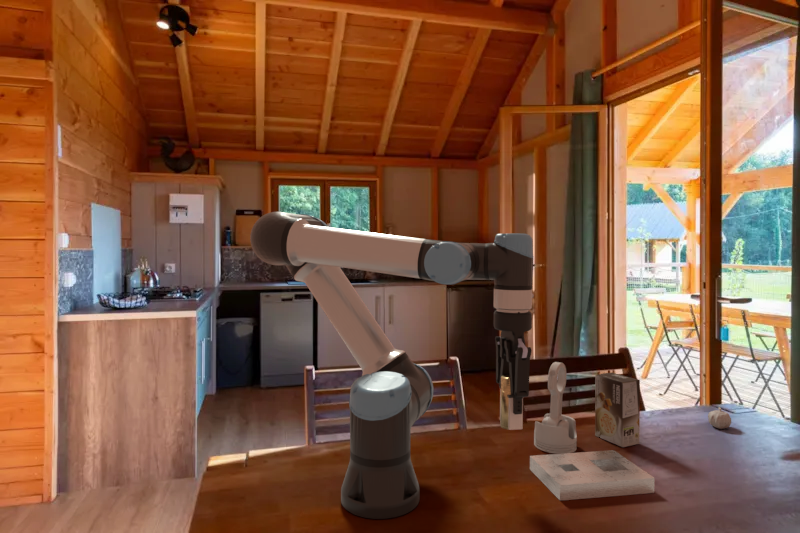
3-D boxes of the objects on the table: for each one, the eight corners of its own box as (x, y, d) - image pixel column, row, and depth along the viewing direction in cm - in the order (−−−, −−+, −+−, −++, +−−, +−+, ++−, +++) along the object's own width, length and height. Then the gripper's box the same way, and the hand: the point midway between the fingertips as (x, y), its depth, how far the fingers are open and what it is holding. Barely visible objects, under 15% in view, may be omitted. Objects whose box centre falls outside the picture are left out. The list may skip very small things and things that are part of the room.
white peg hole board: (559, 500, 97) (560, 485, 96) (529, 469, 110) (529, 455, 110) (654, 492, 100) (654, 477, 100) (613, 463, 113) (613, 450, 113)
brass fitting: (504, 430, 100) (505, 380, 99) (497, 423, 104) (498, 375, 103) (523, 429, 100) (524, 379, 100) (515, 422, 104) (516, 374, 104)
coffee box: (640, 443, 125) (641, 379, 124) (622, 448, 122) (623, 382, 122) (611, 431, 133) (612, 371, 133) (593, 435, 131) (594, 374, 130)
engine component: (527, 447, 123) (568, 457, 117) (528, 364, 122) (569, 370, 116) (544, 434, 131) (583, 443, 125) (545, 356, 131) (584, 361, 125)
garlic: (712, 422, 141) (712, 403, 141) (734, 427, 137) (735, 408, 137) (704, 427, 137) (704, 408, 137) (726, 432, 133) (727, 413, 133)
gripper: (549, 315, 93) (546, 439, 94) (514, 305, 110) (512, 410, 111) (510, 315, 92) (508, 441, 93) (481, 305, 109) (479, 412, 110)
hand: (510, 424), depth 102 cm, fingers closed on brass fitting, 4 cm apart
